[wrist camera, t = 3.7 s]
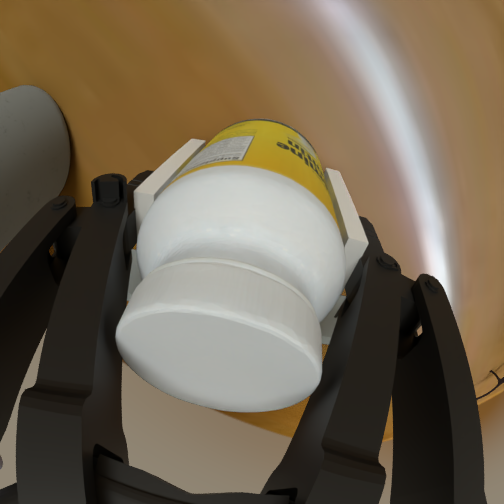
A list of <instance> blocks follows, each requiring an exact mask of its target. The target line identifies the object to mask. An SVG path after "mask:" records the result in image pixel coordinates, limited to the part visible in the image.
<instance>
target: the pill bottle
mask: <svg viewBox="0 0 504 504" xmlns="http://www.w3.org/2000/svg"><path fill="white" fill-rule="evenodd" d="M136 252H137V263H138V267H139V272H140V276H141V279H142V282H141V283H140V284H139V285H138V286H137V287H136V289H135V290H134V292H133V294H132V296H131V298H130V301H129V303H128V305H127V307H126V309H125V311H124V313H123V315H122V317H121V319H120V321H119V324H118V326H117V329H116V336H115V338H116V345H117V348H118V351H119V353H120V355H121V357H122V358H123V360H124V361H125V362H126V363H127V365H128V366H129V367H130V368H131V369H132V370H133V371H134V372H135V373H136V374H137V375H139V376H140V377H141V378H142V379H144V380H145V381H146V382H148V383H150V384H151V385H152V386H154V387H156V388H157V389H159V390H161V391H163V392H165V393H167V394H169V395H171V396H173V397H175V398H178V399H180V400H183V401H186V402H189V403H193V404H196V405H200V406H204V407H208V408H212V409H217V410H223V411H232V412H264V411H271V410H278V409H282V408H286V407H289V406H292V405H294V404H297V403H299V402H301V401H302V400H304V399H306V398H307V397H308V396H309V395H311V394H312V393H313V392H314V391H315V389H316V388H317V386H318V385H319V383H320V380H321V375H322V334H321V328H320V324H319V323H320V322H321V321H322V320H323V319H324V318H325V317H326V316H327V315H328V313H329V312H330V311H331V310H332V308H333V307H334V305H335V303H336V302H337V300H338V298H339V295H340V293H341V291H342V288H343V284H344V280H345V273H346V256H345V250H344V244H343V240H342V236H341V232H340V229H339V225H338V222H337V218H336V215H335V211H334V207H333V204H332V200H331V197H330V194H329V190H328V187H327V184H326V180H325V177H324V174H323V170H322V167H321V164H320V161H319V158H318V156H317V154H316V152H315V150H314V148H313V147H312V145H311V144H310V143H309V142H308V140H307V139H306V138H305V137H304V136H303V135H302V134H300V133H299V132H298V131H296V130H295V129H293V128H292V127H290V126H288V125H286V124H283V123H281V122H278V121H275V120H269V119H250V120H245V121H240V122H237V123H235V124H233V125H231V126H229V127H227V128H225V129H224V130H222V131H221V132H220V133H218V134H217V135H216V136H215V137H214V138H213V139H212V140H211V141H210V142H209V143H208V144H207V145H206V146H205V147H204V148H203V149H202V150H201V151H200V152H199V153H198V154H197V155H196V156H195V157H194V158H193V159H192V160H191V161H190V162H189V163H188V164H187V165H186V166H185V167H184V168H183V169H182V170H181V171H180V173H179V174H178V175H177V176H176V177H175V178H174V179H173V180H172V181H171V182H170V183H169V184H168V186H167V187H166V188H165V189H164V190H163V191H162V192H161V193H160V195H159V196H158V197H157V198H156V200H155V201H154V202H153V204H152V205H151V207H150V208H149V210H148V211H147V213H146V215H145V217H144V219H143V221H142V224H141V226H140V230H139V234H138V239H137V251H136Z"/></svg>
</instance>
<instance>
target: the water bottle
mask: <svg viewBox="0 0 504 504" xmlns="http://www.w3.org/2000/svg"><path fill="white" fill-rule="evenodd" d="M69 167H70V141H69V135H68V131H67V126H66V123H65V121H64V118H63V115H62V113H61V111H60V109H59V107H58V105H57V104H56V102H55V101H54V100H53V99H52V97H51V96H50V95H48V94H47V93H46V92H45V91H44V90H42V89H40V88H38V87H35V86H30V85H22V86H19V87H15V88H12V89H9V90H7V91H4V92H1V93H0V252H1V250H2V249H3V248H4V247H5V246H6V245H7V244H8V243H9V242H10V241H11V240H12V239H13V238H14V237H15V236H16V234H17V233H18V232H19V231H20V230H21V229H22V228H23V227H24V226H25V225H26V224H27V222H28V221H29V220H30V219H31V218H32V217H33V216H34V215H35V214H36V213H37V212H38V211H39V210H40V209H41V208H42V207H43V206H44V205H45V204H46V203H47V202H49V201H50V200H52V199H54V198H56V197H58V195H59V194H60V192H61V191H62V189H63V188H64V185H65V182H66V179H67V176H68V172H69Z"/></svg>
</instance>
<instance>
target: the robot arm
mask: <svg viewBox="0 0 504 504" xmlns="http://www.w3.org/2000/svg"><path fill="white" fill-rule="evenodd" d="M204 147H205V141H204V140H198V139H191V140H190V141H188V142H187V143H186V144H185V145H184V146H183V147H181V148H180V149H179V150H178V151H177V152H176V153H174V154H173V155H172V156H171V157H170V158H169V159H168V160H166V161H165V162H164V163H163V164H162V165H161V166H160V167H159V168H158V169H156V170H155V171H149V170H147V171H145V172H142V173H140V174H138V175H137V176H136V177H135V178H134V179H133V180H131V181H130V182H129V183H128V184H127V179H126V177H125V176H124V175H121V174H113V173H112V174H105V175H101V176H98V177H97V178H95V179H93V180H92V181H91V187H92V196H93V204H92V206H91V207H76V204H75V199H74V198H73V197H71V196H60V197H59V196H58V197H56V198H54V199H52V200H50V201H49V202H47V203H46V204H45V205H44V206H43V207H42V208H41V209H40V210H39V211H38V212H37V213H36V214H35V215H34V216H33V217H32V218H31V219H30V220H29V221H28V222H27V224H26V225H25V226H24V227H23V228H22V229H21V230H20V231H19V232H18V233H17V234H16V236H15V237H14V238H13V239H12V240H11V241H10V242H9V244H8V245H7V246H6V247H5V248H4V250H3V251H2V252H1V253H0V441H1V439H2V437H3V435H4V432H5V431H6V428H7V425H8V422H9V420H10V417H11V414H12V411H13V407H14V405H15V402H16V399H17V396H18V393H19V390H20V388H21V385H22V382H23V380H24V377H25V375H26V372H27V370H28V368H29V365H30V363H31V361H32V358H33V356H34V354H35V352H36V349H37V347H38V345H39V343H40V341H41V339H42V337H43V335H44V333H45V331H46V328H47V331H46V335H45V339H44V343H43V348H42V353H41V358H40V364H39V369H38V375H37V380H36V383H35V385H34V386H33V387H31V388H28V389H25V391H24V392H23V394H22V395H21V399H20V403H19V410H18V420H17V434H16V477H17V483H14V484H13V485H10V486H7V487H5V488H3V489H0V504H379V501H380V498H381V495H382V492H383V489H384V484H385V480H386V473H385V468H384V467H383V466H381V464H380V463H379V461H378V456H379V451H380V447H381V443H382V439H383V435H384V431H385V426H386V422H387V417H388V412H389V407H390V401H391V395H392V407H393V469H392V487H391V497H390V504H487V501H486V497H485V492H484V457H483V444H482V434H481V426H480V419H479V412H478V405H477V400H476V395H475V390H474V385H473V380H472V376H471V372H470V367H469V363H468V360H467V356H466V352H465V349H464V345H463V342H462V339H461V335H460V332H459V329H458V326H457V323H456V320H455V317H454V314H453V311H452V309H451V306H450V303H449V300H448V298H447V295H446V293H445V290H444V288H443V286H442V285H441V284H440V283H439V281H438V280H437V279H435V277H433V276H430V275H428V274H421V275H419V277H418V278H417V280H416V281H413V280H411V279H409V278H407V277H405V276H403V275H402V274H401V269H400V265H399V264H398V263H397V261H396V260H395V259H394V258H393V257H391V256H390V255H388V254H386V253H384V251H383V249H382V246H381V244H380V241H379V239H378V237H377V234H376V233H375V230H374V227H373V225H372V224H371V223H370V222H369V221H368V220H367V218H364V217H361V216H358V214H357V211H356V209H355V207H354V204H353V202H352V199H351V197H350V195H349V192H348V190H347V188H346V185H345V183H344V181H343V179H342V176H341V174H340V172H339V171H336V170H333V169H329V168H326V169H325V172H324V177H325V180H326V184H327V187H328V190H329V194H330V197H331V200H332V204H333V207H334V211H335V215H336V218H337V222H338V225H339V229H340V232H341V236H342V240H343V244H344V250H345V256H346V273H345V280H344V284H343V288H342V291H341V293H340V295H341V294H342V292H343V290H344V288H345V290H346V298H345V300H344V301H343V303H342V305H341V306H340V308H339V310H338V311H337V313H336V314H335V316H334V318H337V317H338V318H337V321H336V325H335V328H334V331H333V334H332V337H331V340H330V343H329V346H328V349H327V352H326V355H325V358H324V361H323V364H322V375H321V380H320V383H319V385H318V386H317V388H316V389H315V391H314V392H313V393H312V394H311V396H310V398H309V401H308V403H307V406H306V408H305V410H304V413H303V415H302V418H301V420H300V422H299V425H298V427H297V429H296V431H295V434H294V436H293V438H292V441H291V443H290V445H289V447H288V449H287V451H286V453H285V455H284V457H283V459H282V461H281V463H280V464H279V465H278V467H277V468H276V469H275V470H274V471H273V473H272V474H271V476H270V477H269V479H268V481H267V482H266V484H265V486H264V488H263V490H262V492H261V493H260V494H253V493H243V492H241V493H240V492H239V493H237V492H235V493H232V492H231V493H210V494H192V493H188V492H186V491H184V490H182V489H180V488H178V487H176V486H174V485H172V484H170V483H168V482H166V481H164V480H162V479H161V478H159V477H157V476H154V475H152V474H150V473H148V472H145V471H143V470H140V469H137V468H135V467H132V466H129V461H128V450H127V443H126V439H125V435H124V432H123V428H122V410H121V409H122V407H121V382H122V381H121V380H122V357H121V355H120V353H119V351H118V348H117V345H116V338H115V336H116V329H117V326H118V324H119V321H120V319H121V317H122V315H123V313H124V311H125V309H126V304H127V295H128V287H129V279H130V272H131V265H132V248H133V247H134V245H135V244H136V243H137V239H138V234H139V230H140V226H141V224H142V221H143V219H144V217H145V215H146V213H147V211H148V210H149V208H150V207H151V205H152V204H153V202H154V201H155V200H156V198H157V197H158V196H159V195H160V193H161V192H162V191H163V190H164V189H165V188H166V187H167V186H168V184H169V183H170V182H171V181H172V180H173V179H174V178H175V177H176V176H177V175H178V174H179V173H180V171H181V170H182V169H183V168H184V167H185V166H186V165H187V164H188V163H189V162H190V161H191V160H192V159H193V158H194V157H195V156H196V155H197V154H198V153H199V152H200V151H201V150H202V149H203V148H204ZM52 245H53V247H54V251H55V252H54V253H53V255H50V253H49V249H50V247H51V246H52ZM340 295H339V297H340ZM421 325H422V333H421V334H420V335H419V336H418V334H417V330H418V328H419V327H420V326H421ZM2 465H3V461H2V458H1V456H0V469H1V468H2Z"/></svg>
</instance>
